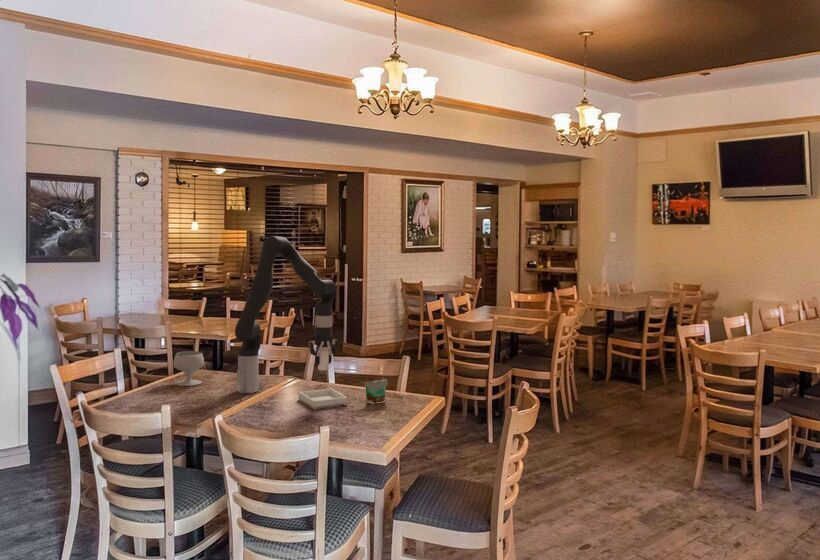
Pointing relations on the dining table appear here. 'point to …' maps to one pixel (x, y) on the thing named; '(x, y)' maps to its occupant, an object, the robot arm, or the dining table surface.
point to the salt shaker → (324, 359)
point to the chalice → (188, 366)
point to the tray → (322, 398)
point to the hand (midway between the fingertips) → (323, 363)
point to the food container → (376, 390)
